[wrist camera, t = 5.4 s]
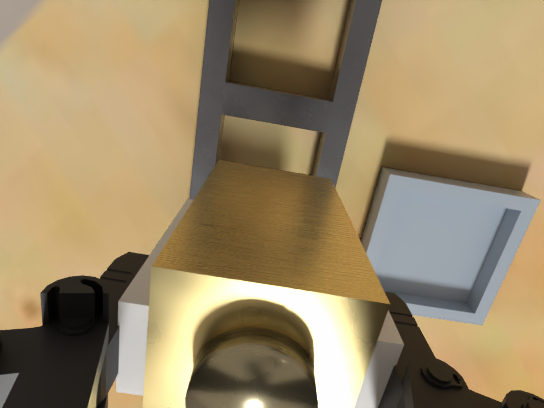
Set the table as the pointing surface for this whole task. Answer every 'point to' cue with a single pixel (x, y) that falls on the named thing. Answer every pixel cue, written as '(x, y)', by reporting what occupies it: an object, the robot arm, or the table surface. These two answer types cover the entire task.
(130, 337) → the robot arm
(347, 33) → the rail
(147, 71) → the table surface
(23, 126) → the table surface
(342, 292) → the gold block with knob
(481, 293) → the parts tray
